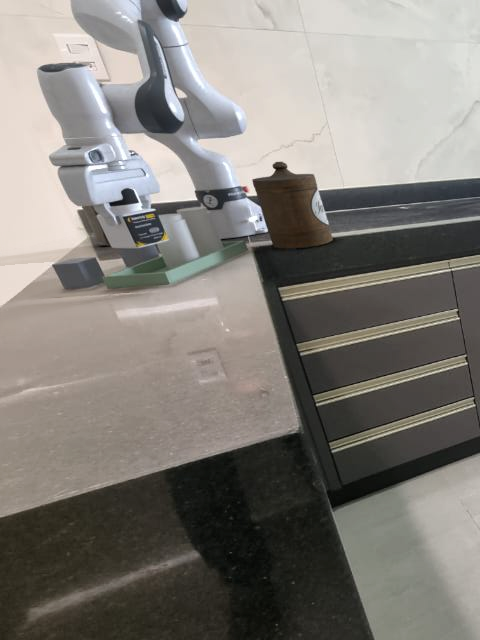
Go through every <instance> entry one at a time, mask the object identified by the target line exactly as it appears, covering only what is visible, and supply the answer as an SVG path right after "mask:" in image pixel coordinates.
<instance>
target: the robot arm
mask: <svg viewBox="0 0 480 640" xmlns="http://www.w3.org/2000/svg"><path fill="white" fill-rule="evenodd" d="M70 9H71V13H72V15H73V19H74V20H75V22H76V23H77V25H78V26H79V27H80V28H81V30H83V31H84V32H85V34H86V35H88V36H90V37H91V38H92V39H94V40H95V41H97V42H99V43H101V44H102V45H104V46H106V47H109V48H111V49H114V50H117V51H121V52H124V53H125V52H126V53H129V54H133V55H136V56H137V59H138V62H139V66H140V69H141V74H142V77H143V78H142V79H141V80H139V81H137V82H132V83H103V82H101V81H99V80H97V79H96V77H95V75H94V74H93V72H92V70H91V69H90V68H89V66H87V65H86V64H83V63H80V62H79V63H78V62H58V63H46V64H43V65H41V66H39V67H38V68H37V69H36V75H37V80H38V83H39V87H40V89H41V93H42V95H43V98H44V100H45V102H46V105H47V107H48V109H49V112H50V113H51V116H53V118H54V119H55V120H56V121H57V123H58V124H59V126H60V129H61V135H62V138H63V140H64V143H65V144H64V145H63V146H61V147H60V148H59V149H57V150H55V151H53V152H52V153H50V154H49V155H48V159H49V161H50V163H51V164H52V165H53V166H54V167H58V168H57V177H58V179H59V181H60V184H61V186H62V188H63V190H64V192H65V195H66V196H67V198H68V199H69V200H70V202H71V203H73V204H74V205H75V206H77V207H82V206H93V208H94V210H95V211H96V212H97V213H99V214H100V215H101V216H102V217H103V218H104V219H105V221H106V223H107V225H108V226H117V225H120V224H121V221H120V219H119V216H115V215H114V214H113V213H112V212H111V211H110V210H109V208H111V207H110V205H109V202H114V201H119V200H122V199H123V197H122V194H121V191H122V190H123V189H125V188H133V189H135V190H136V192H137V194H138V197H139V199H140V201H141V203H142V206H141V208H142V209H152V198H151V196H150V195H153V194H158V193H160V191H161V186H160V184H159V182H158V179H157V178H156V176H155V174H154V172H153V170H152V168H151V167H150V165H149V163H147V161H146V160H144V158H143V156H142V155H141V154H139V153H138V152H136V151H135V150H132V149H129V148H128V145H127V143H126V140H125V139H124V136H123V134H124V135H134V134H135V135H136V134H137V135H138V134H144V135H145V136H147V137H148V138H149V139H151V140H154V141H156V142H158V143H160V144H161V145H163V146H165V147H166V148H167V149H169V150H170V151H171V152H172V153H174V154H175V155H176V156H177V157H178V159H179V160H180V161H181V162H182V164H183V165H184V167H185V170H186V171H187V173H188V176H189V177H190V180H191V182H192V185H193V187H194V189H195V190H194V194H195V198H196V199H197V202H198V203H199V204H200V207H206V208H207V211H209V212H210V213H211V216H212V218H213V221H214V224H215V226H216V229H217V231H218V234H219V237H220V239H221V240H222V239H223V240H224V239H233V238H241V237H246V236H252V235H258V234H260V235H261V234H265V233H269V232H268V229H267V226H266V223H265V220H264V217H263V213H262V210H261V207H260V205H258V204H257V203H256V202H253V201H252V200H251V199H249V198H248V195H247V193H248V194H249V193H250V188H249V186H247V185H244V186H241V185H240V182H239V180H238V177H237V174H236V170H235V168H234V165H233V163H232V162H231V160H230V159H229V158H228V157H227V156H225V155H223V154H221V153H218V152H215V151H213V150H208V149H206V148H204V147H202V146H201V145H200V144H199V142H198V141H200V140H209V139H224V138H226V139H227V138H231V137H236V136H239V135H243V134H244V132H245V131H246V129H247V126H248V122H247V117H246V113H245V111H244V110H243V109H242V107H241V106H240V105H239V104H238V103H237V102H235V101H234V100H232V99H231V98H229V97H227V96H226V95H223V93H220V92H219V91H218V90H216V89H215V88H214V87H213V86H212V85H211V84H210V83H209V82H208V80H206V78H205V77H204V76H203V74H202V72H201V71H200V68H199V66H198V65H197V62H196V60H195V57H194V55H193V53H192V50H191V48H190V45H189V42H188V40H187V37H186V34H185V32H184V30H183V27H182V26H181V24H180V22H179V21H180V19H183V18H184V17H185V16H186V14H187V13H188V0H70ZM176 89H178V90H179V91H181V92H182V93H183V94H185V97H179V96H178V94H177V93H178V92H177V91H176Z"/></svg>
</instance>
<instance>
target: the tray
mask: <svg viewBox="0 0 480 640" xmlns="http://www.w3.org/2000/svg"><path fill="white" fill-rule="evenodd" d="M221 242H222V244H223V247H224V248H223V249H220V250H218V251H215V252H213V253H210V254H208V255H205V256H203V257H200V258H198V259H195V260H193V261H190V262H188V263H185V264H183V265H180V266H178V267H175V268H173V269H170V270H168V269H167V266H166V264H165V262H164V259H163V257H162V255H159V256H160V257H157V258H154V259H151V260H149V261H146V262H143V263H140V264H137V265H135V266H132V267H126V268H124V269H121V270H118V271H116V272H112V273H109V274H107V275H105V276H104V277H102V279H103V281H104V282H103V283H104V285H105V287H106V288H107V289H120V288H135V287H147V286H148V287H149V286H162V285H171V284H174V283H176V282H179V281H180V280H183V279H186V278H187V277H190V276H192V275H195V274H196V273H199V272H201V271H203V270H206V269H208V268H210V267H212V266H215V265H217V264H219V263H222V262H224V261H226V260H229V259H231V258H233V257H235V256H238V255H241V254H242V253H245V252H247V251H249V248H248V246H247V243H246V241H245V240H233V241H221Z"/></svg>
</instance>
